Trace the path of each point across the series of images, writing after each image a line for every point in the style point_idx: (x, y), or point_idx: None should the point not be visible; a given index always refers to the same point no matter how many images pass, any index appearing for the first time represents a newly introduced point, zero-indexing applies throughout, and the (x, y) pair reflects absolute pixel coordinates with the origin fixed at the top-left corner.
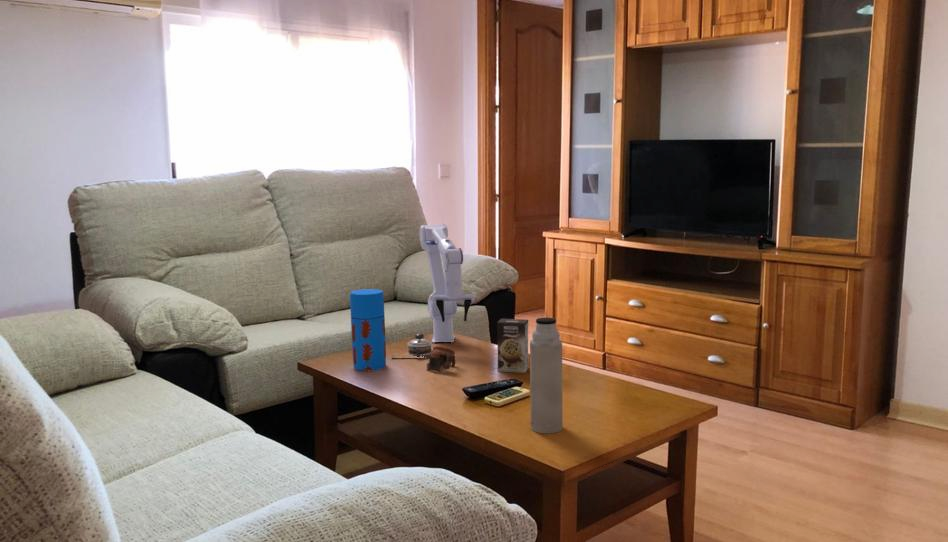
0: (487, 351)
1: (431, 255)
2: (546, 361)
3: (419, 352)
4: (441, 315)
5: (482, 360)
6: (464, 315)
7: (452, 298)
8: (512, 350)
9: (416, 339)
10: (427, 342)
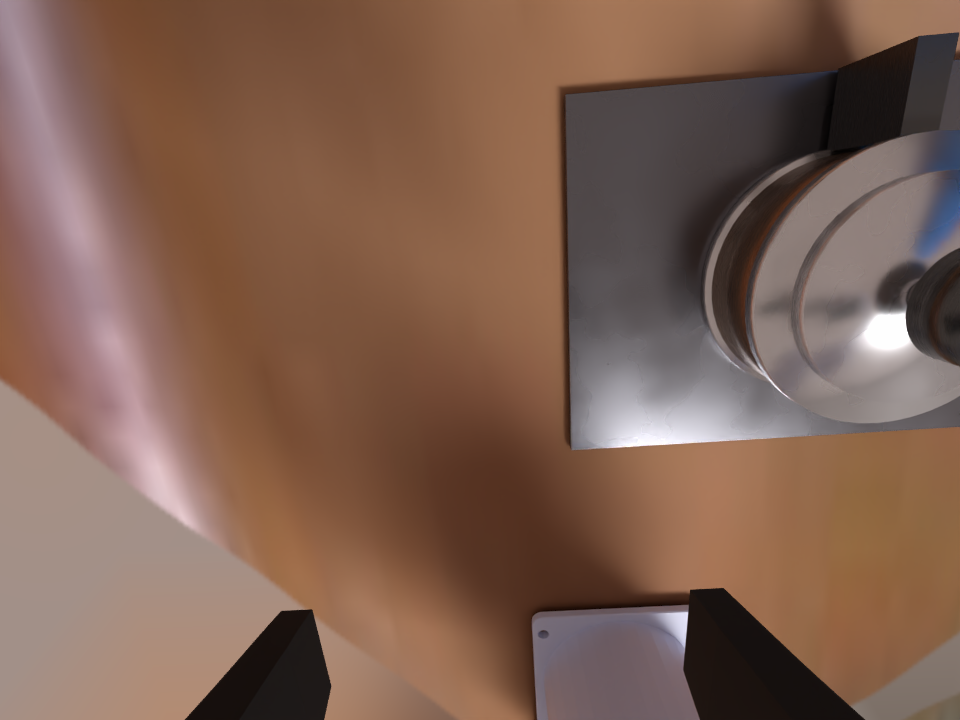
0: (203, 368)
1: None
2: None
3: (873, 72)
4: (841, 702)
5: (153, 10)
6: (236, 716)
7: None
8: None
9: (950, 380)
10: (819, 252)
